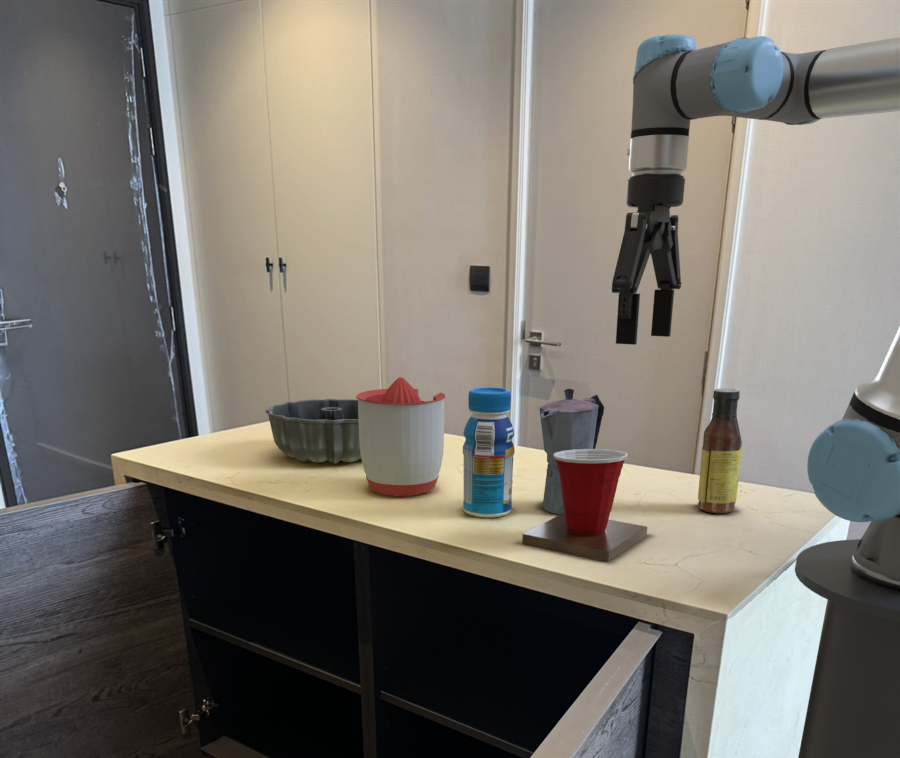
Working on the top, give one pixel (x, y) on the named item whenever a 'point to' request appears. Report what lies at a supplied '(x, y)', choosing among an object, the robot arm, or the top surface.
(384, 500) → the top surface
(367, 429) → the citrus juicer
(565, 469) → the plastic cup
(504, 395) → the beverage bottle
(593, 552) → the trivet board
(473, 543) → the top surface
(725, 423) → the sauce bottle
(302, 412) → the bundt pan
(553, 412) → the moka pot
